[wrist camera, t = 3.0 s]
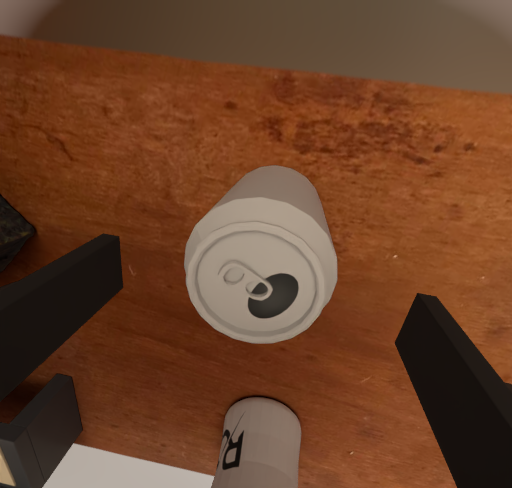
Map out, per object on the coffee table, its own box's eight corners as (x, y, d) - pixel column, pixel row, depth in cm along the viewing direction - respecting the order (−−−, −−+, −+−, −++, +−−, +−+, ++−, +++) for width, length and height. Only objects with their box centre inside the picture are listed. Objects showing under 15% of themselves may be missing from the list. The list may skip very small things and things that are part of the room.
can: (280, 267, 25) (266, 381, 14) (212, 215, 24) (140, 296, 13) (341, 204, 22) (384, 288, 11) (267, 142, 21) (233, 166, 10)
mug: (249, 381, 31) (229, 488, 22) (316, 417, 32) (323, 534, 23) (203, 433, 36) (171, 537, 27) (262, 463, 37) (251, 573, 28)
